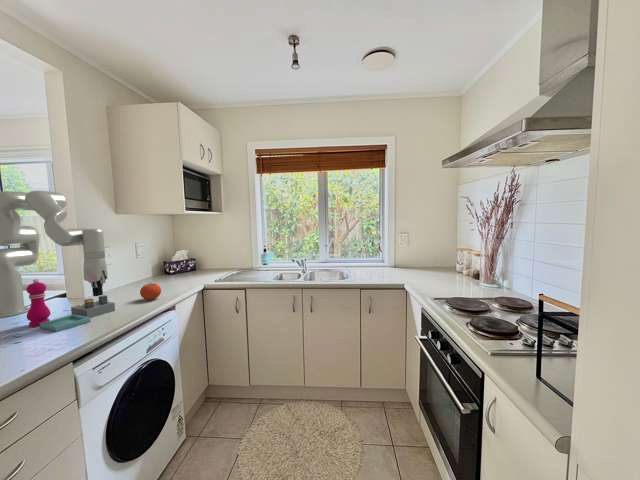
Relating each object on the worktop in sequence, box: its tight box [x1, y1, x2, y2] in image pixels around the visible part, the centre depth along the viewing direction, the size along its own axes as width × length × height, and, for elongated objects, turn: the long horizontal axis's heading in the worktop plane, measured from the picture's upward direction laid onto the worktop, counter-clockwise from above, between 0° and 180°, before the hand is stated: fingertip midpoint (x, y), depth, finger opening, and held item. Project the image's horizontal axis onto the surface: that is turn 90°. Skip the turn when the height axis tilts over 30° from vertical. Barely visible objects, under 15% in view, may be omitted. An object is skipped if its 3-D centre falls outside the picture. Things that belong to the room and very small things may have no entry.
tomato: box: [139, 281, 162, 301], centre depth 157 cm, size 10×10×10 cm
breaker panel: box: [70, 299, 116, 319], centre depth 135 cm, size 12×12×4 cm
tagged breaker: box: [83, 298, 95, 308], centre depth 131 cm, size 3×2×4 cm
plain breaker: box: [98, 294, 109, 304], centre depth 136 cm, size 2×2×4 cm
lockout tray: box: [39, 314, 91, 333], centre depth 119 cm, size 12×12×2 cm
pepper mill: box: [26, 278, 51, 328], centre depth 119 cm, size 7×7×20 cm
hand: (98, 295), depth 128 cm, fingers closed
